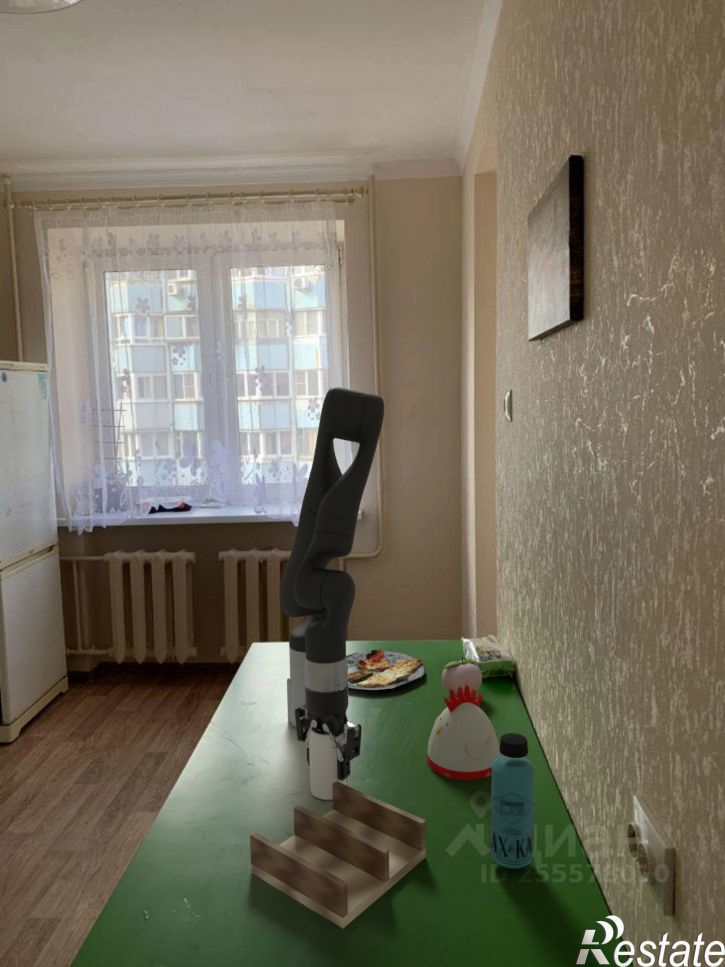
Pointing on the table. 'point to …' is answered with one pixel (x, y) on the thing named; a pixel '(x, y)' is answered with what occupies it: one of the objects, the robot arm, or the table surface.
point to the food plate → (383, 669)
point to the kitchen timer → (463, 739)
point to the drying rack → (342, 854)
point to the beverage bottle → (512, 804)
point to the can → (323, 764)
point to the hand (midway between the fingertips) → (328, 771)
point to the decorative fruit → (462, 675)
